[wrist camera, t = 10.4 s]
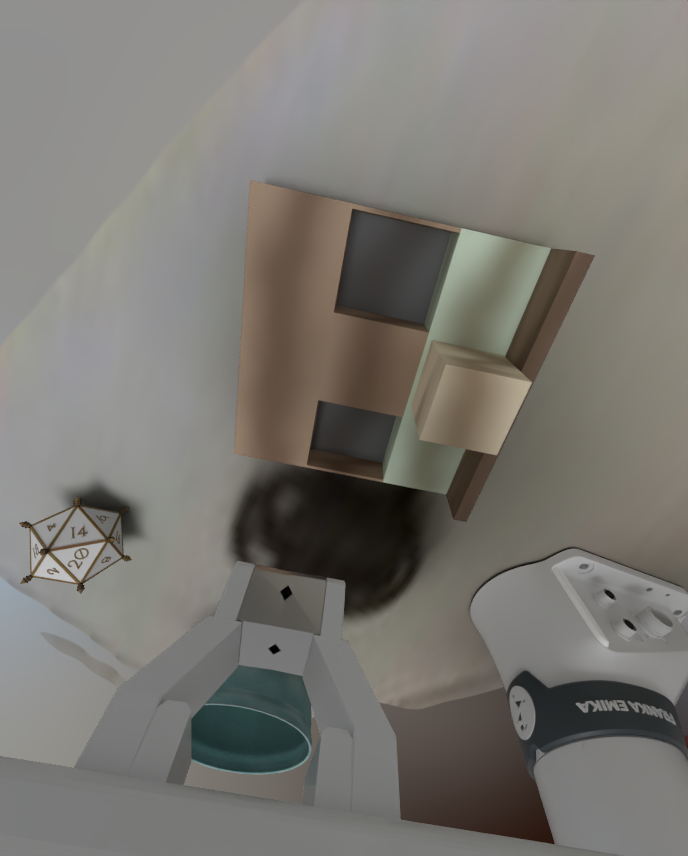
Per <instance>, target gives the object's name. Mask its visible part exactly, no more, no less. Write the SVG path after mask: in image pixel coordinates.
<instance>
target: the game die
mask: <svg viewBox="0 0 688 856" xmlns="http://www.w3.org/2000/svg"><path fill="white" fill-rule="evenodd" d="M73 502H74V505H75V506H72V507H70V508H68V509H66V510H64V511H61V512H59V513H57V514H55V515H52V516H50V517H48V518H46V519H44V520H41V521H39V522H37V523H35V524H33V525H31V524H30V523H28V522H27V521H26V522H21V523H20V525H21V526H22V527H25V528H30V569H31V574H30V575H29V576H26V577H25V578H23V580H22V582H21V583H20V584H22V583H28V581H31V579H32V578H33V577H35V578H41V579H47V580H53V581H59V582H66V583H72V584H78V587H77V588H78V589H77V591H79V592H80V593H82V591H83V590H84V589H85V588H84V585H83V583H85V582H86V581H88V580H89V579H91V578H92V577H94V576H95V575H97V574H99V573H100V572H102V571H103V570H105V569H106V568H108V567H109V566H111V565H113V564H114V563H116V562H117V561H119V560H120V559H123V560H124V561H126V562H127V561H130V560H132V559H131V558H130V556H127V555H126V556H124V554H123V535H122V516H121V515H122V514H123V513H125V512H127V510H128V508H129V507H128V508H123V509H121V511H120V512H116V511H111V510H105V509H100V508H95V507H89V506H84V505H80V504H81V500H80V499H79V498H78V497H77V498H76V499H75V500H74V501H73Z"/></svg>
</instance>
